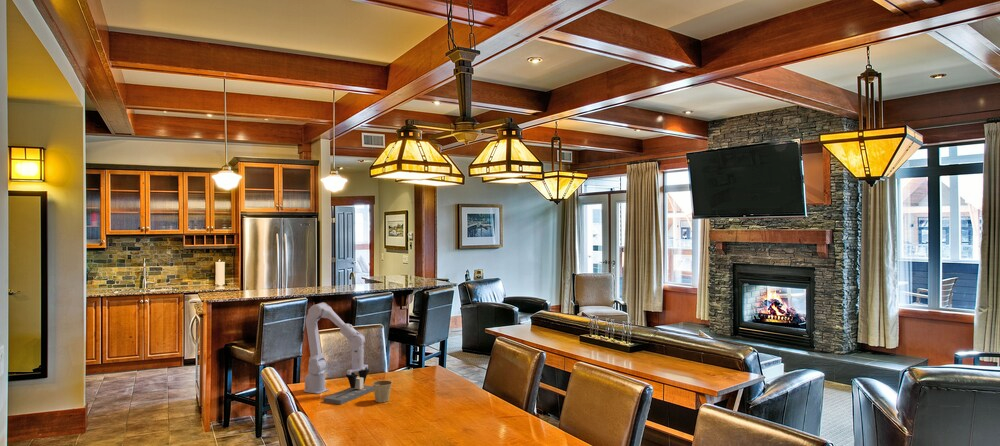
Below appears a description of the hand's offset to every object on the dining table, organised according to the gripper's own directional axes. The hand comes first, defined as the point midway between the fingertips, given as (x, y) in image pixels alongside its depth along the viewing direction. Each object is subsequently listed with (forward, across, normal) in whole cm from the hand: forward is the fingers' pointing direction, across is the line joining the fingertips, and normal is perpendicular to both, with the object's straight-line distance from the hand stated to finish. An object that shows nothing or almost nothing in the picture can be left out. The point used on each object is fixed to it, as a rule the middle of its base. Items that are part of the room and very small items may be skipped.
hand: (357, 386), depth 285 cm
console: (+3, -6, 0) cm, 7 cm away
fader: (+1, 0, 0) cm, 1 cm away
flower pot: (+4, -6, -19) cm, 20 cm away
